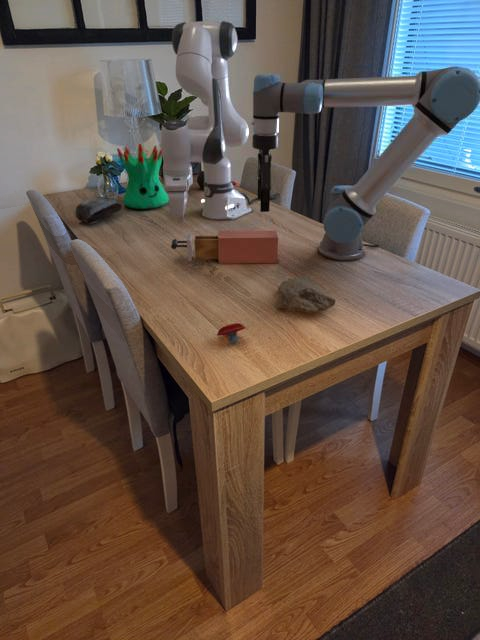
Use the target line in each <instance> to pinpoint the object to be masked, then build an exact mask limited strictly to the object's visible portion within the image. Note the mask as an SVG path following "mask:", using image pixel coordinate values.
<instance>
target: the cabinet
mask: <svg viewBox="0 0 480 640" xmlns="http://www.w3.org/2000/svg"><path fill="white" fill-rule="evenodd" d="M278 235H279V234H278V232H277V230H218V232H217V236H218V253H219V259H218V264H219V265H221V264H223V265H224V264H277V263H278V251H279V250H278V249H279V248H278V247H279V236H278Z"/></svg>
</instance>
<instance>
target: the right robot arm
mask: <svg viewBox="0 0 480 640" xmlns="http://www.w3.org/2000/svg"><path fill="white" fill-rule="evenodd" d="M281 78H282V77H281V75H280V74H277V73H259V74H256V75H255V76H254V79H253V91H252V106H253V107H252V120H253V121H250V125H251V126H252V132H253V133H254V134H253V135H252V148H253V149H255V150H258V153H257V165H258V166H257V198H258V199H259V200H260V206H259V207H260V209H259V212H261V213H269V212H270V203H271V201H270V200H271V199H270V198H271V191H272V182H271V181H272V179H271V178H272V177H271V176H272V174H271V169H272V159H273V156H272V153H270V151H271V150H276V149H277V148H278V145H279V143H278V142H279V135H278V133H279V127H280V126H279V125H280V113H293V114H306V115H309V114H320V113H321V110H322V108H362V107H364V108H365V107H407V106H409V107H413V116H412V117H411V118H410V119H409V120H408V122H407V123H406V124H405V125H404V127H403V128H402V129H401V130H400V131H399V132H398V134H397V135H396V136H395V137H394V139H393V140H392V141H391V142H390V143H389V144H388V145H387V147H386V148H385V149H384V151H382V153H380V155H379V156H378V158H376V160H375V161H374V162H373V163H372V164H371V166H370V167H369V168H368V169H367V170H366V172H364V174H363V175H362V176H361V177H360V179H359V180H358V181H357V182H356V183H355V185H334V186H333V187H332V188H331V189H330V193H329V203H328V207H327V210H326V213H325V214H324V216H323V230H324V234H323V237H322V239H321V240H320V241H319V247H318V248H319V249H318V252H319V254H320V255H322V256H323V257H325V258H327V259H330V260H335V261H342V262H343V261H344V262H347V261H348V262H349V261H355V260H358V259H360V258H362V257H363V255H364V249H365V247H368V248H377V247H380V245H379V244H378V243H377V244H370V243H369V244H368V243H363V237H362V232H363V229H364V226H365V225H366V224H367V223H368V222H369V221H370V220H371V219H372V218H373V217H374V216H375V214H376V213H377V211H376V206H377V205H378V203H379V202H380V201H381V200H382V199H383V198H384V197H385V196H386V195H387V194H388V193H389V191H390V190H392V188H393V187H394V186H395V185H396V184H397V183H398V181H400V179H401V178H402V177H403V176H404V175H405V173H407V172H408V170H409V169H410V168H411V167H412V166H413V165H414V164H415V163H416V162H417V160H418V159H419V158H420V157H421V156H422V155H423V154H424V152H426V150H427V149H428V148H429V147H430V146H431V145H432V144H433V143H434V142H435V141H436V139H437V138H438V137H441V136H448V135H449V133H450V132H451V131H452V130H453V129H454V128H455V127H456V126H457V125H458V124H459V123H460V122H461V121H463V120H465V119H466V118H468V117H469V116H471V114H473V112H474V111H475V110H476V109H477V108H478V106H479V104H480V77H479V76H478V75H477V74H476V73H475V72H474V71H473V70H471V69H470V68H467V67H463V66H449V67H445V68H440V69H433V70H424V71H419V72H418V73H417V74H416V75H401V76H400V75H398V76H378V77H376V76H375V77H353V78H351V77H350V78H327V79H313V78H309V79H304V80H302V81H301V82H284V81H282V80H281Z"/></svg>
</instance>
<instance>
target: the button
mask: <svg viewBox="0 0 480 640" xmlns="http://www.w3.org/2000/svg"><path fill="white" fill-rule="evenodd" d="M245 329H246V326H244V325H243V324H241V323H238V322H236V323H229V324H227V325H225V326H222V327H221V328H220V329H218V331H217V333H216V336H217V337H222V336H228V342H229V343H230V344H233V345H235V344H236V343H237V342H239V337H238V336H237V333H238V332H240V331H243V330H245Z"/></svg>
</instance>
